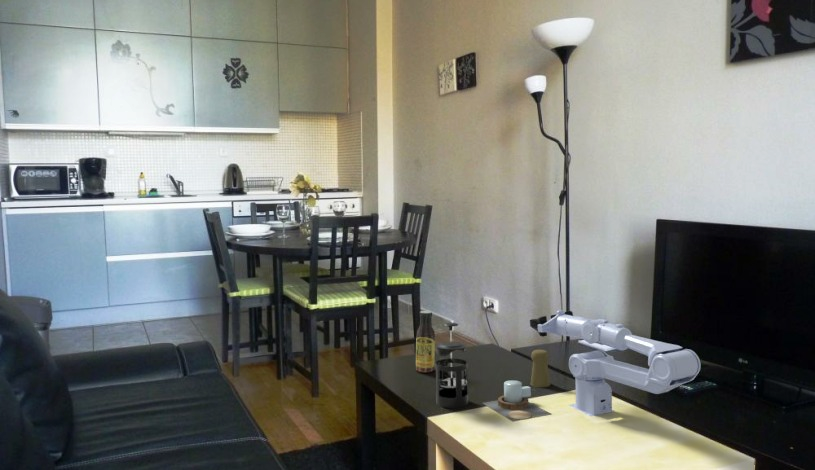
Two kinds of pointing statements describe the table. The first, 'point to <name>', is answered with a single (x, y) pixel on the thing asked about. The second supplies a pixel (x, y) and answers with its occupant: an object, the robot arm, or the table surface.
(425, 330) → the sauce bottle
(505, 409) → the board
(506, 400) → the white ceramic mug
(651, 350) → the robot arm
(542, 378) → the pepper shaker
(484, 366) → the table surface
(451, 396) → the french press
